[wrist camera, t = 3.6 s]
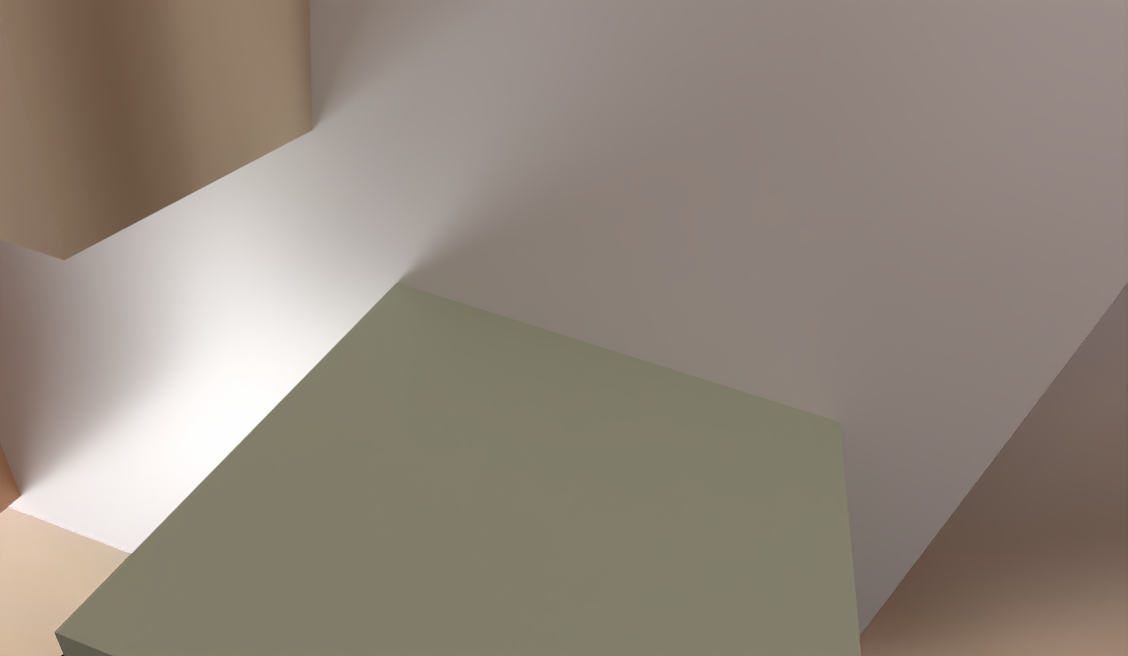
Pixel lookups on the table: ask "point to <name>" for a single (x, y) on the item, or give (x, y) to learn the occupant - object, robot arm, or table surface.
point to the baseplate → (620, 235)
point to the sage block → (496, 512)
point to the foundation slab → (138, 107)
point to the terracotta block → (6, 484)
